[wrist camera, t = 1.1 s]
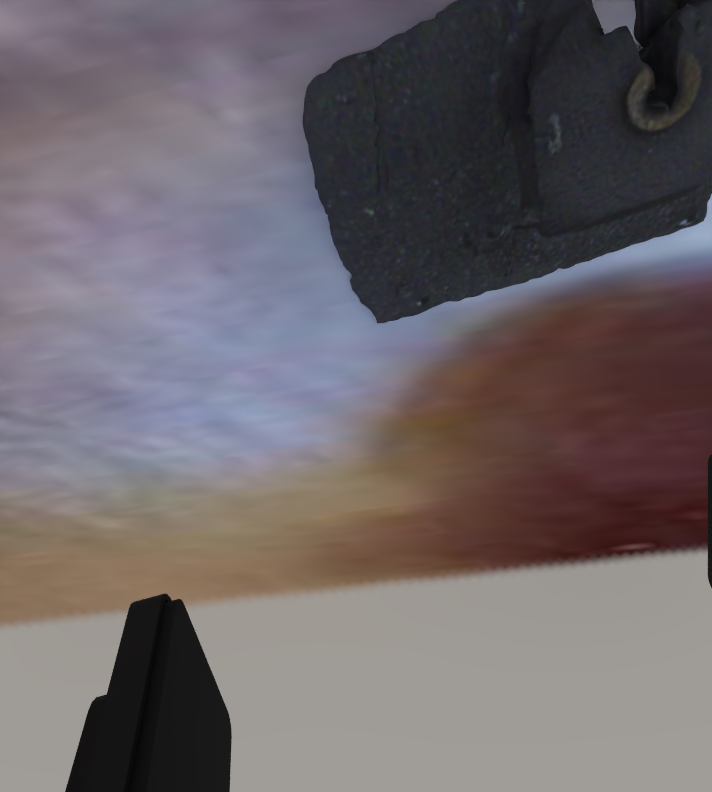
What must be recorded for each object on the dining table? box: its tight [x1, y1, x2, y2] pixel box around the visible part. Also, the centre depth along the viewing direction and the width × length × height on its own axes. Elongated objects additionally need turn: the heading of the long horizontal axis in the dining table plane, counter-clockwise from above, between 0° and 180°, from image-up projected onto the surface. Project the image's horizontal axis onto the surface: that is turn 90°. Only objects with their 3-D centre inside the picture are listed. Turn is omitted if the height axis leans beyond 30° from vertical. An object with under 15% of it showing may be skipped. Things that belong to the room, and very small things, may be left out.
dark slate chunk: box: [303, 0, 712, 323], centre depth 31 cm, size 15×22×5 cm
